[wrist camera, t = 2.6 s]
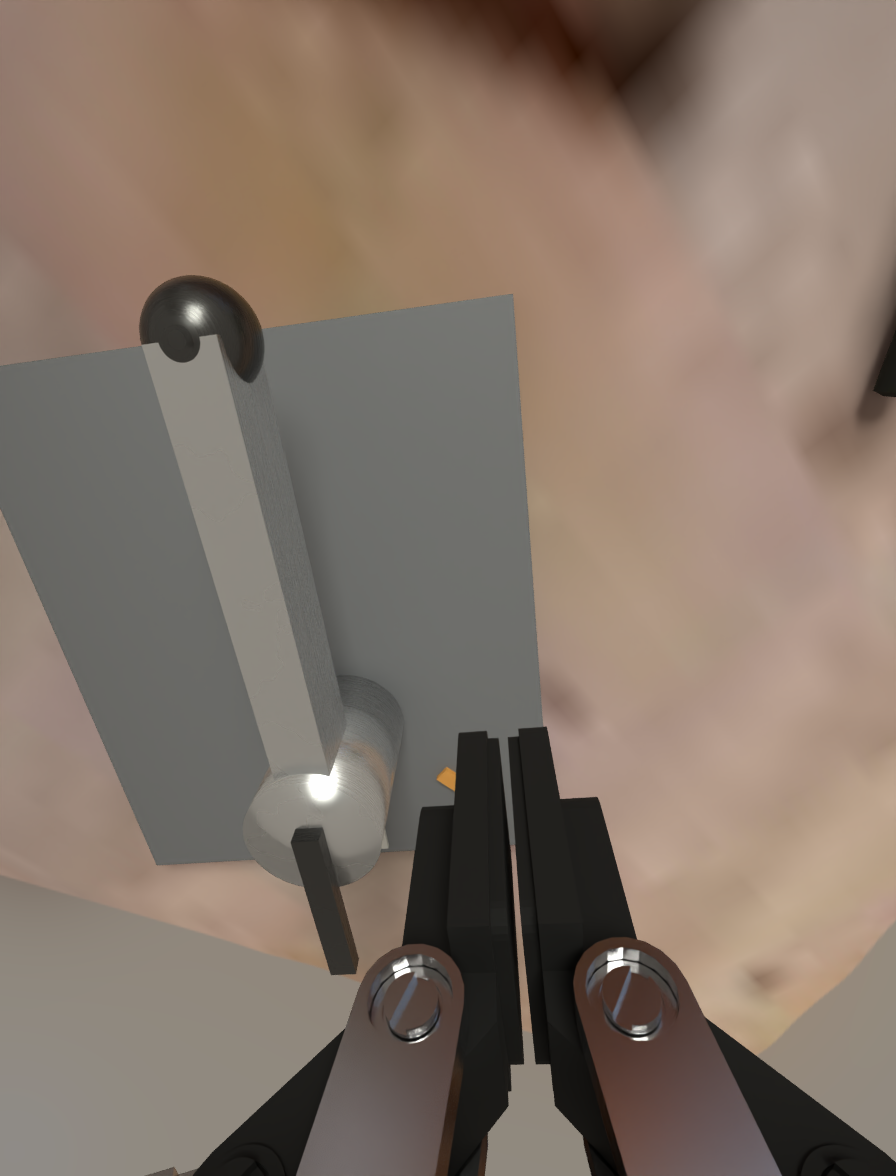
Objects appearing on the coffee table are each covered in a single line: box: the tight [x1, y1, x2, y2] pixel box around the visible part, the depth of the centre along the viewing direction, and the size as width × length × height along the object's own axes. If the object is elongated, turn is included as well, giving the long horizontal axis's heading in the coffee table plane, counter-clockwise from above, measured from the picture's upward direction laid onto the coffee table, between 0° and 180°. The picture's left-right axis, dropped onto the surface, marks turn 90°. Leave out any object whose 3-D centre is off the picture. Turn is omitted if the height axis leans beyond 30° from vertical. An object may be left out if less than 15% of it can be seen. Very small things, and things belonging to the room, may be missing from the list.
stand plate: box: [0, 294, 543, 865], centre depth 26 cm, size 26×22×2 cm
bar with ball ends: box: [139, 275, 404, 975], centre depth 21 cm, size 25×5×8 cm, turn 7°
